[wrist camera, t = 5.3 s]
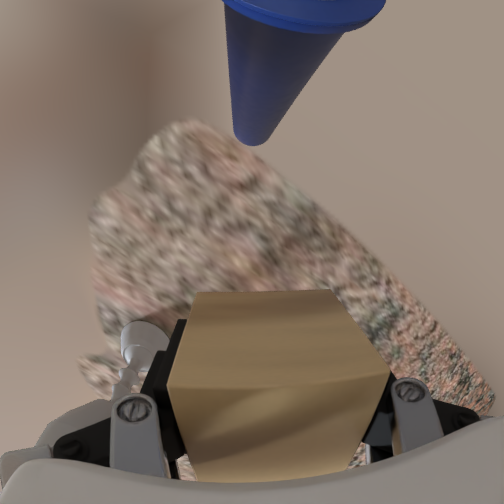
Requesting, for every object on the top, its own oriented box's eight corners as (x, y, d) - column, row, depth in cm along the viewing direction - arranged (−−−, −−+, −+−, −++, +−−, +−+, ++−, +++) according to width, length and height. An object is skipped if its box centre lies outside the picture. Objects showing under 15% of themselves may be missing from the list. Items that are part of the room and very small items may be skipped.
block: (196, 291, 10) (165, 384, 5) (330, 288, 10) (393, 369, 5) (207, 390, 11) (196, 483, 6) (315, 385, 11) (345, 471, 6)
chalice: (98, 335, 22) (0, 476, 5) (138, 295, 21) (14, 469, 4) (153, 384, 24) (104, 541, 6) (198, 352, 23) (166, 549, 5)
